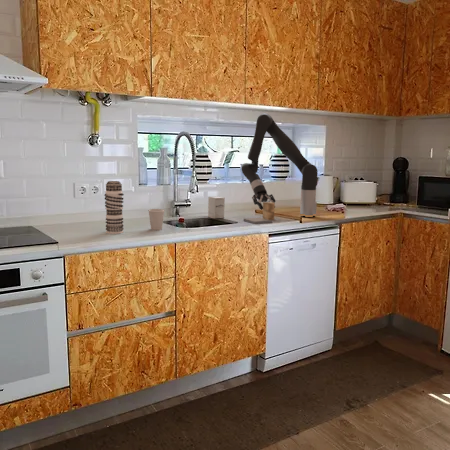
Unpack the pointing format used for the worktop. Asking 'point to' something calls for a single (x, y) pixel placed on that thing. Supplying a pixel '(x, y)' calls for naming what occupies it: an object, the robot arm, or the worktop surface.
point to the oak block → (268, 210)
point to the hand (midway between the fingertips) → (268, 208)
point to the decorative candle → (114, 207)
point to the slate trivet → (258, 220)
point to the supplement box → (216, 207)
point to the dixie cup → (156, 218)
